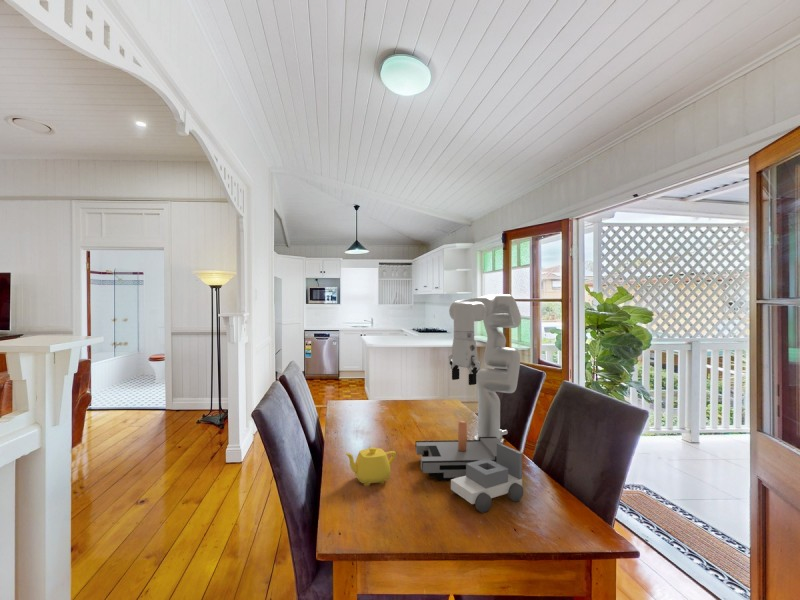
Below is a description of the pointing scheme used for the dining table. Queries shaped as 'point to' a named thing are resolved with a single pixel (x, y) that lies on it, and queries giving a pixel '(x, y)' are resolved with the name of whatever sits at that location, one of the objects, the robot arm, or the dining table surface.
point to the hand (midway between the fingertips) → (463, 381)
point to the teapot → (372, 465)
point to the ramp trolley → (491, 479)
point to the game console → (453, 456)
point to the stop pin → (462, 435)
